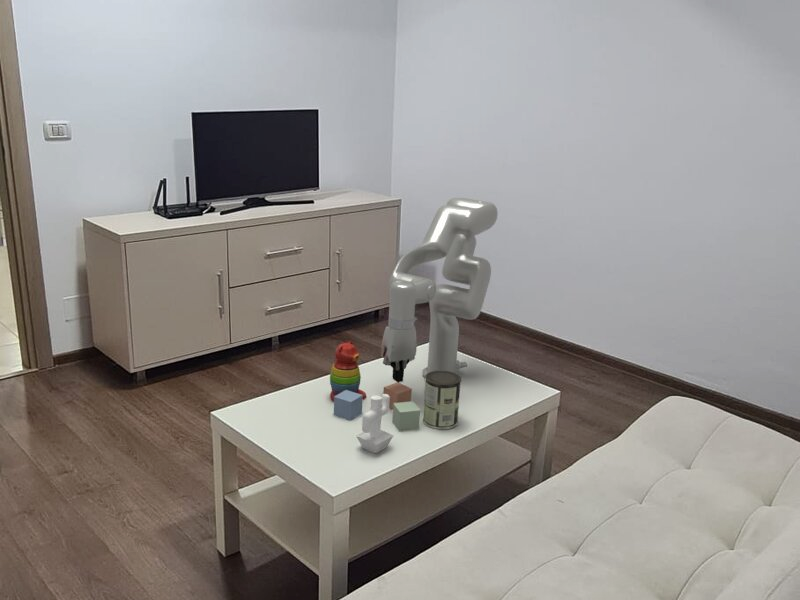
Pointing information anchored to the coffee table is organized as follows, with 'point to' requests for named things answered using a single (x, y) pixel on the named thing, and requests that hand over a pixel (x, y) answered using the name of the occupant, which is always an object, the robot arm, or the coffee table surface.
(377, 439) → the figurine
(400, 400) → the terracotta block
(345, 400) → the slate block
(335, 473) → the coffee table surface
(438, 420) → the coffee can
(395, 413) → the sage block
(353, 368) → the stacking bear
